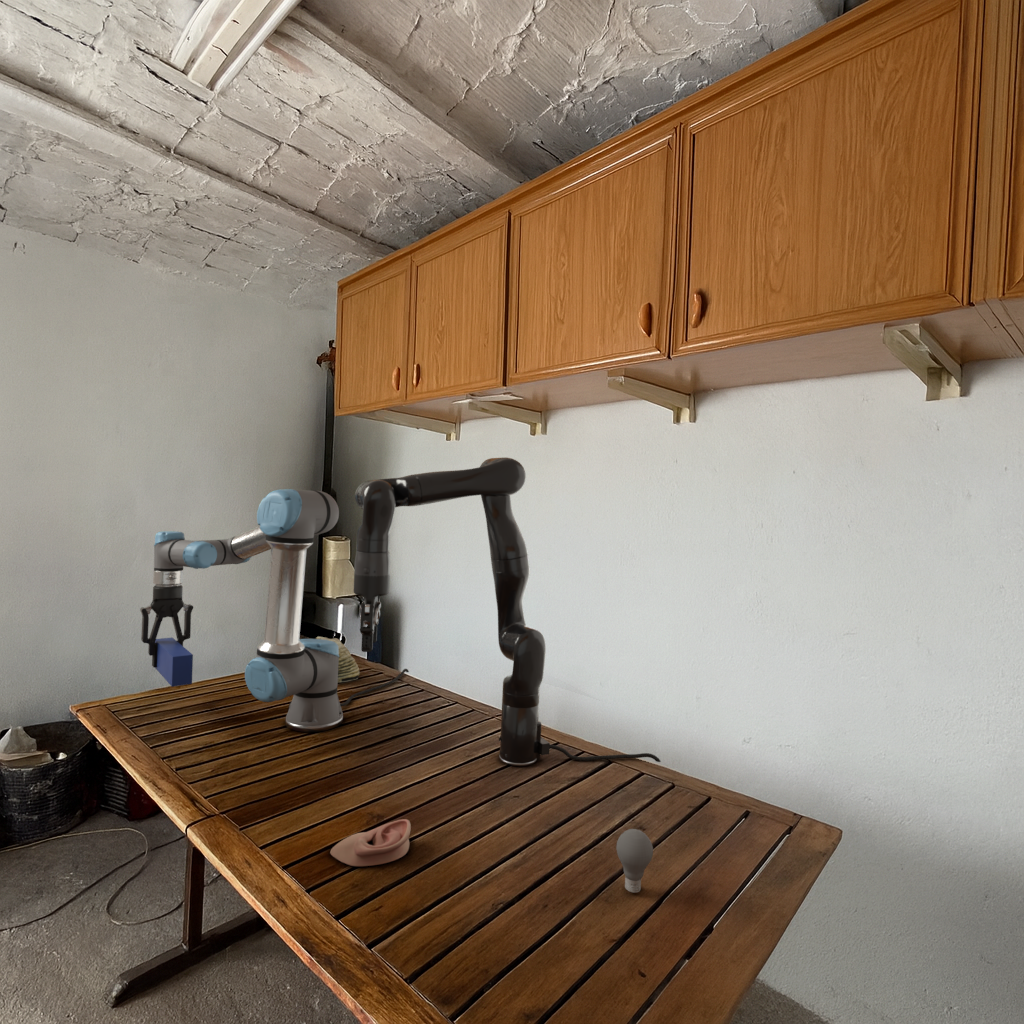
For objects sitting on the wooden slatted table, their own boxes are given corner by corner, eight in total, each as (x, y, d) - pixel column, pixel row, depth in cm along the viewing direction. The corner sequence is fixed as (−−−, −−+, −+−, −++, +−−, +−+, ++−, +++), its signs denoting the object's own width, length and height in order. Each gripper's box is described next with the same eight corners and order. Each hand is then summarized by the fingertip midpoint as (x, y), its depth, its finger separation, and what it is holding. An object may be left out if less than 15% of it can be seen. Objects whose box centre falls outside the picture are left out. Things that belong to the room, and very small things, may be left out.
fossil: (300, 681, 213) (301, 637, 213) (350, 673, 226) (352, 631, 226) (311, 688, 207) (313, 642, 207) (362, 679, 219) (364, 636, 219)
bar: (153, 666, 185) (154, 639, 185) (171, 663, 188) (172, 637, 188) (171, 686, 166) (172, 656, 166) (192, 684, 169) (192, 654, 169)
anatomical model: (322, 838, 110) (352, 807, 121) (321, 861, 110) (351, 828, 121) (394, 850, 107) (417, 817, 119) (393, 873, 107) (416, 838, 119)
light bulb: (610, 879, 108) (613, 822, 108) (644, 879, 109) (647, 822, 109) (619, 902, 102) (622, 840, 102) (655, 901, 103) (658, 840, 103)
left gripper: (134, 588, 174) (131, 672, 175) (204, 585, 186) (202, 663, 186) (130, 584, 180) (127, 666, 180) (198, 581, 191) (195, 658, 192)
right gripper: (386, 576, 130) (383, 655, 131) (392, 569, 144) (389, 639, 145) (349, 575, 129) (346, 654, 130) (358, 568, 144) (355, 639, 144)
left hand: (165, 664), depth 183 cm, fingers closed on bar, 5 cm apart
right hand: (369, 646), depth 137 cm, fingers open, 8 cm apart
